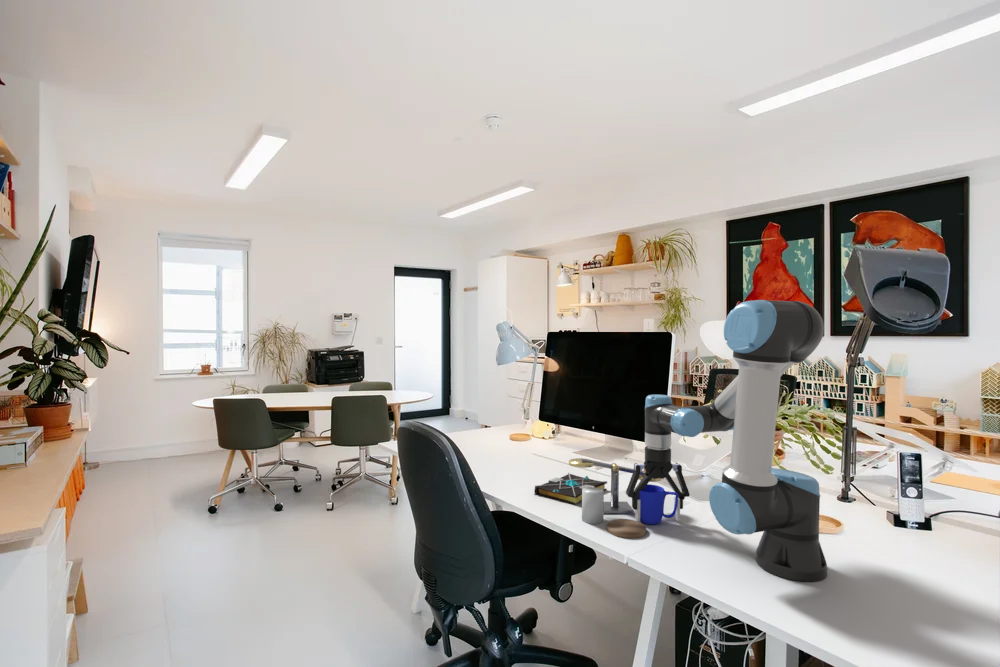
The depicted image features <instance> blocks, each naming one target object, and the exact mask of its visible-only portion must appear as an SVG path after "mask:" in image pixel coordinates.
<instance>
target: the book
mask: <svg viewBox="0 0 1000 667" xmlns="http://www.w3.org/2000/svg"><path fill="white" fill-rule="evenodd" d="M606 484H608V481H607V480H606V481H605V480H604V481H601V480H597V479H596V480H595V479H591V478H589V477H588V475H586V476H584V477H583V476H579V475H576V474H572V473H570V472H568V473H567V474H565V475H563V476H561V477H553V478H551V479H549V480H548V482H545V483H543V484H540V485H537V484H536V485H534V493H533V494H534V496H541V497H546V498H550V499H554V500H556V501H557V500H558V501H562V502H564V503H568V504H570V505H571V504H572V505H575V506H577V505H579V504H580V503H582V489H583V488H586V487H596V488H600V489H602V490H603V491H604V492H605V491H607V488H606V487H605V485H606Z"/></svg>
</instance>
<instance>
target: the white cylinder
mask: <svg viewBox="0 0 1000 667" xmlns="http://www.w3.org/2000/svg"><path fill="white" fill-rule="evenodd" d="M604 493H605V491H603V490H602V489H600V488H596V487H586V488H583V489H582V501H581V521H582V522H584V523H586V524H588V525H599V524H602V523H604V517H605V516H604V515H605V514H604V502H605V501H604V500H605V499H604V497H605V494H604Z"/></svg>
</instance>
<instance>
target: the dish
mask: <svg viewBox="0 0 1000 667" xmlns="http://www.w3.org/2000/svg"><path fill="white" fill-rule="evenodd" d="M606 531H607V532H608V533H609V534H610V535H612V536H614V537H618V538H624V539H638V538H643V537H644V536H646V535H647V526H646V524H645V523H643V522H641V521H640V522H638V521H637V520H634V519H629V518H628V519H627V518H625V519H624V518H615V519H612V520H609V521H608V522H606Z"/></svg>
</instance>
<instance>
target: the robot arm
mask: <svg viewBox="0 0 1000 667" xmlns="http://www.w3.org/2000/svg"><path fill="white" fill-rule="evenodd" d="M723 324H724V325H723V338H724V340H725V341H726V345H727V347H728V348H729V349H731V350H732V351H733V352H732V359H734V360H735V362H736V363H737V364H738V375H737V376H736V377H734V379H733V380H732V381H731V382H730V383H729V384H728V385H727V386H726V387H725V388H724V389H723V390H722V392H721V393H720V394H718V396H717V397H716V398H715V399H714V400H713V401H712V402H711V403H710V404H708V405H695V406H694V405H693V406H689V405H688V406H679V405H674V404H673V403H672V402H673V400H672V398H671V396H670V395H666V394H648V395H647V396H646V397H645V401H644V402H645V405H644V445H645V447H644V463H643V464H642V463H641V464H639V463H636V462H635V463H634V464H633V469H634V472H633V473H631V474H632V475H631V477H630V480H629V483H628V485H627V488H626V491H625V494H626V495H627V497H628V498H631V507H632V509H633V510H634V518H635V521H638V522H640V523H641V521H640V499H638V497H639V496H640V493H639V491H640V490H641V491H643V490H644V488H645V487H646V485H647V484H649V483H650V482H649V481H651V479H652V478H653V479H657V478H660V479H661V480H664V479H665V480H666V481H667V482H668V484H669V486H670V487H671V488H672V490H673V492H676V493H678V503H677V509H676V513H675V515H674V516H673V518H674V519H675V520H676V522H680V521H681V510H683V508H684V500H685V499H686V497H687V498H689V497H690V491H689V489H688V486H687V483H686V481H685V478H684V477H685V476H684V473H683V467H682V465H681V464H680V463H678V462H675V463H672V449H671V447H672V433H674V434H677V435H678V436H681V437H687V438H694V437H697V436H698V435H700V434H701V433H702V434H703V433H714V432H728V431H731V430H732V431H733V432H732V442H731V454H730V463H729V464H728V465H727V466H725V467H724V468H723V469H722V475H721V481H720V482H717V483H716V484H714V485H713V486H712V487H711V488H710V490H709V493H708V494H709V495H708V496H709V497H708V501H709V505H710V510H711V512H712V514H713V516H714V517H715V520H716V521H717V523H718V524H719V525H720V526H721V527H722V529H724V530H726V531H727V532H729V533H731V534H733V535H753V534H755V533H760V532H761V533H762V532H763V533H762V535H761V538H760V540H759V542H758V546H757V547H756V551H755V561H756V564H757V565H758V567H760V568H761V569H763V570H764V571H766V572H768V573H770V574H772V575H775V576H777V577H780V578H783V579H788V580H791V581H798V582H819V581H822V580H824V579H825V578H827V576H828V564H827V560H826V558H825V554H824V552H823V548H822V546H821V543H820V507H821V506H820V503H821V502H820V499H821V494H820V483H819V482H818V480H817V479H816V478H815V477H813V476H811V475H808V474H806V473H801V472H797V471H794V470H789V469H783V468H776V467H775V468H773V467H772V466H773V454H774V447H775V446H774V445H775V436H776V425H777V416H778V407H779V397H780V388H781V387H780V385H781V384H780V383H781V378H782V376H783V375H784V374H785V373H786V372H787V371H788V370H790V368H791V367H792V366H793V365H794V364H801V363H803V362H804V361H806V360H807V358H809V357H810V355H812V353H813V352H814V351H815V350H816V349H817V348H818V346H819V344H821V341H822V340H823V337H824V331H825V325H824V320H823V318H822V316H821V314H820V313H819V311H818V310H816V308H815V307H813V306H812V305H810V304H809V303H805V302H803V301H798V300H789V301H788V300H768V299H767V300H766V299H756V300H755V299H754V300H747V301H743V302H739V303H738V304H737V305H735V307H734V308H733V309H731V310H730V311H729V313H728V314H727V316H726V319H725V321H724V323H723ZM644 469H645V470H646V472H645V474H644V476H643V478H642V480H638V478H639V476H640V472H641V471H643V470H644ZM672 470H673V471H674V472H675V475H676V478H677V480H678V484H679V486H680V489H679V487H678V486H677V484H676V483H675V481H674V479H673V477H672V476H671V475H670V472H671V471H672ZM638 481H639V482H638ZM637 482H638V484H637ZM675 497H676V496H675V495H674V496H673V498H674V499H673V500H674V501H673V505H674V506H675ZM674 506H673V507H674Z"/></svg>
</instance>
